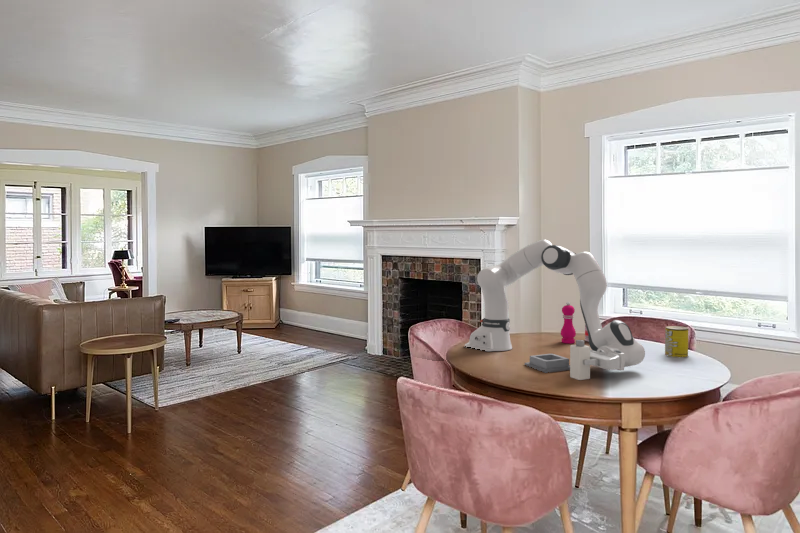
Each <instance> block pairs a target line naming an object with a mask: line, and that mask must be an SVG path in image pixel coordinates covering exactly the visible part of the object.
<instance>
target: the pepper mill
mask: <svg viewBox="0 0 800 533" xmlns="http://www.w3.org/2000/svg"><path fill="white" fill-rule="evenodd" d="M561 313H562V314H563V315H562V316H563V317H562V318H563V325H562V328H561V330H560V336H561V337H562V338H561V343H562V344H569V345H570V344H571V345H573V344H576V339H575V337H576V336H577V335H576V332H577V330H576V329H575V326H574V323H573V320H574V313H575V307H574V306H573V305H571V302H570V301H567V302H566V305H564V306H563V307H562V308H561Z"/></svg>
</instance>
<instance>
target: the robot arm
mask: <svg viewBox="0 0 800 533" xmlns="http://www.w3.org/2000/svg"><path fill="white" fill-rule="evenodd" d="M542 266H545V268H547V269H548V270H551V271H553V272H555V273H557V274H563V275H565V276H571V275H572V276H574V279H575V281H576V284H577V287H578V290H579V306H580V310H581V314H582V317H583V320H584V325H585V324H586V328H587V331H588V338H589V342H588V346H590V360H587V359H585V360H583V364H584V365H590V366H595V367H597V368H601V369H604V370H606V371H615V370H616V371H621V372H622V371H624V370H625V368H627V367H633V366H636V365H639V364H641V363H642V362H643V361H644V359H645V356H646V350H645V347H644V345H643V344H641V343H640V342H638V341H637V340H636V339H635V338H634V336H633V333H632V331H631V328H630V327H629V326H628V324H627V323H625V321H622V320H619V319H613V320H612V321H611V322H608V323H607V324H606V325H605V326H604V327H603V326H602V322H601V318H600V316H599V313H598V307H599V304H600V302H601V300H602V298H603V296H604V295H605V293H606V290H607V288H608V282H607V280H606V279H607V278H606V276H605V274H604V271H603V269H602V268H601V266H600V264H599V263H598V261H597V260H596V258H595V256H594V255H593V254H592V253H591V252H589V251H581V252H577V253H576V252H574V251H572V250H570V249H569V248H567V247H563V246H561V245H557V244H553V243H552V242H551V241H550V240H547V239H540V240H536V241H534V242H532V243H530V244H528V245H526V246H524V247H523V248H521V249H518V250H517V251H516V252H514V253H512V254H511V255H509V257H508V258H506V259H505V260H503V261H502V262H501V263H498V264H496V265H491V266H487V267H484V268H482V269H481V270H479V272H478V274H477V277H476V279H477V280H476V281H477V284H478V286H479V287H480V288H481V291H482V295H483V302H484V317H483V318H482V319H479V323H481V325H480V326H479V327H478V328H477V329H475V330H474V331H473V332H471V334H470V335H469V340H468V342H467V343H465V344H464V347H465V346H466V347H465V348H467V347H471V348H470V349H472V348H475V349H474V350H477V349H480V350H479V351H482V350H485V351H484V352H501V351H502V352H503V351H510V350H512V349H513V345H512V342H511V341H512V340H511V337H510V329H511V328H510V327H511V326H510V325H511V323H510V321H511V320H510V316H509V306H510V305H509V304H510V302H509V300H508V299H507V297H506V292H505V288H507V287H509V286H511V285H513V284H514V283H516V282H517V281H519V280H520V279H521V278H522V277H524V276H527V275H528V274H530V273H532V272H533V271H535V270H537V269H539V268H541V267H542Z"/></svg>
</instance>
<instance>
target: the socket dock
mask: <svg viewBox="0 0 800 533" xmlns="http://www.w3.org/2000/svg"><path fill="white" fill-rule="evenodd" d="M523 364H524V366H525V365H527V366H526V367H528V366H529V367H528V368H531V367H532V368H531V369H533V368H534V370H536V369H537V370H536V371H539V372H541V371H542V372H541V373H545V374H549V373H554V372H555V373H556V372H563V371H564V372H565V371H570V358H567V357H565V356H562V355H558V354H554V353H545V354H536V355H535V354H534V355H529V361H527V362H524V363H523ZM548 372H549V373H548Z"/></svg>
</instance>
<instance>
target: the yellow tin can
mask: <svg viewBox="0 0 800 533" xmlns="http://www.w3.org/2000/svg"><path fill="white" fill-rule="evenodd" d="M664 329H665V330H664V332H665V333H664V334H665V335H664V355H665V356H667V355H668V357H671V356H672V357H671V358H687V357H689V328H688V327H686V326H678V325H671V326H670V325H668V326H667V325H666V326H665V328H664Z"/></svg>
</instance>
